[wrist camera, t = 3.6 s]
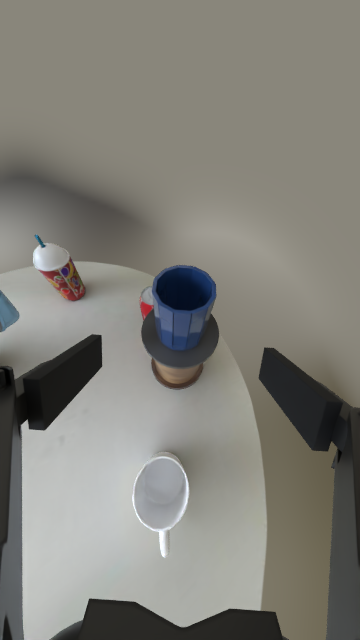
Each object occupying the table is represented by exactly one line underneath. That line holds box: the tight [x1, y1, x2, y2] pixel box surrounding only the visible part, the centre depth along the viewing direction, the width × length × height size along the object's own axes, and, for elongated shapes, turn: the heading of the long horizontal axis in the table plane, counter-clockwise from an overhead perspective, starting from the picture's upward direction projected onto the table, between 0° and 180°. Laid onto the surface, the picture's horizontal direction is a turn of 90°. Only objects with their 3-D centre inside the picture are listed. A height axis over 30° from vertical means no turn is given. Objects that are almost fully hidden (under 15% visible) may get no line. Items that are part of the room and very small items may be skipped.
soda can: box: [139, 286, 154, 320], centre depth 49 cm, size 7×7×12 cm
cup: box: [133, 452, 189, 557], centre depth 31 cm, size 8×12×10 cm
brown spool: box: [141, 308, 219, 389], centre depth 40 cm, size 14×14×18 cm
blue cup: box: [152, 265, 216, 351], centre depth 28 cm, size 8×8×11 cm
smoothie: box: [33, 235, 85, 301], centre depth 50 cm, size 8×8×20 cm
